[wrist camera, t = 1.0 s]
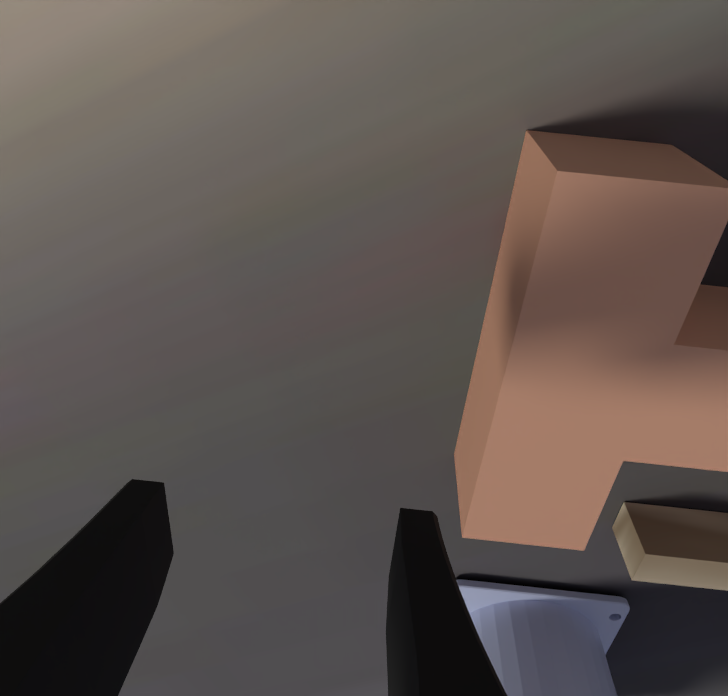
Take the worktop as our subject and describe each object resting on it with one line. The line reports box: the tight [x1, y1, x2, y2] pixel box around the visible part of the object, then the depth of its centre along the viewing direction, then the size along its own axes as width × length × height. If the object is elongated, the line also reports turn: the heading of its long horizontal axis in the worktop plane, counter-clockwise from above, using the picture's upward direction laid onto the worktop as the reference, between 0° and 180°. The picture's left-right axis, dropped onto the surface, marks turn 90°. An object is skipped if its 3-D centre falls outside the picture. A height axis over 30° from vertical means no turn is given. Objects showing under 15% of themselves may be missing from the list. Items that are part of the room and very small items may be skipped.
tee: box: [454, 130, 728, 551], centre depth 18 cm, size 12×12×4 cm
